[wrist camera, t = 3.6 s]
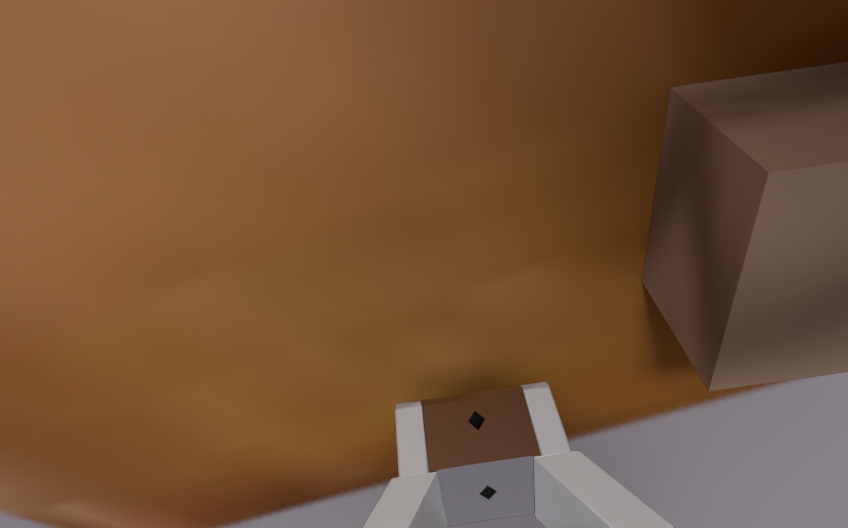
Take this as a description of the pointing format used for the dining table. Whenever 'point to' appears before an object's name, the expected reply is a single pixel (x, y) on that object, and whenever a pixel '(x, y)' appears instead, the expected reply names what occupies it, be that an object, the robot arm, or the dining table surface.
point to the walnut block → (755, 226)
